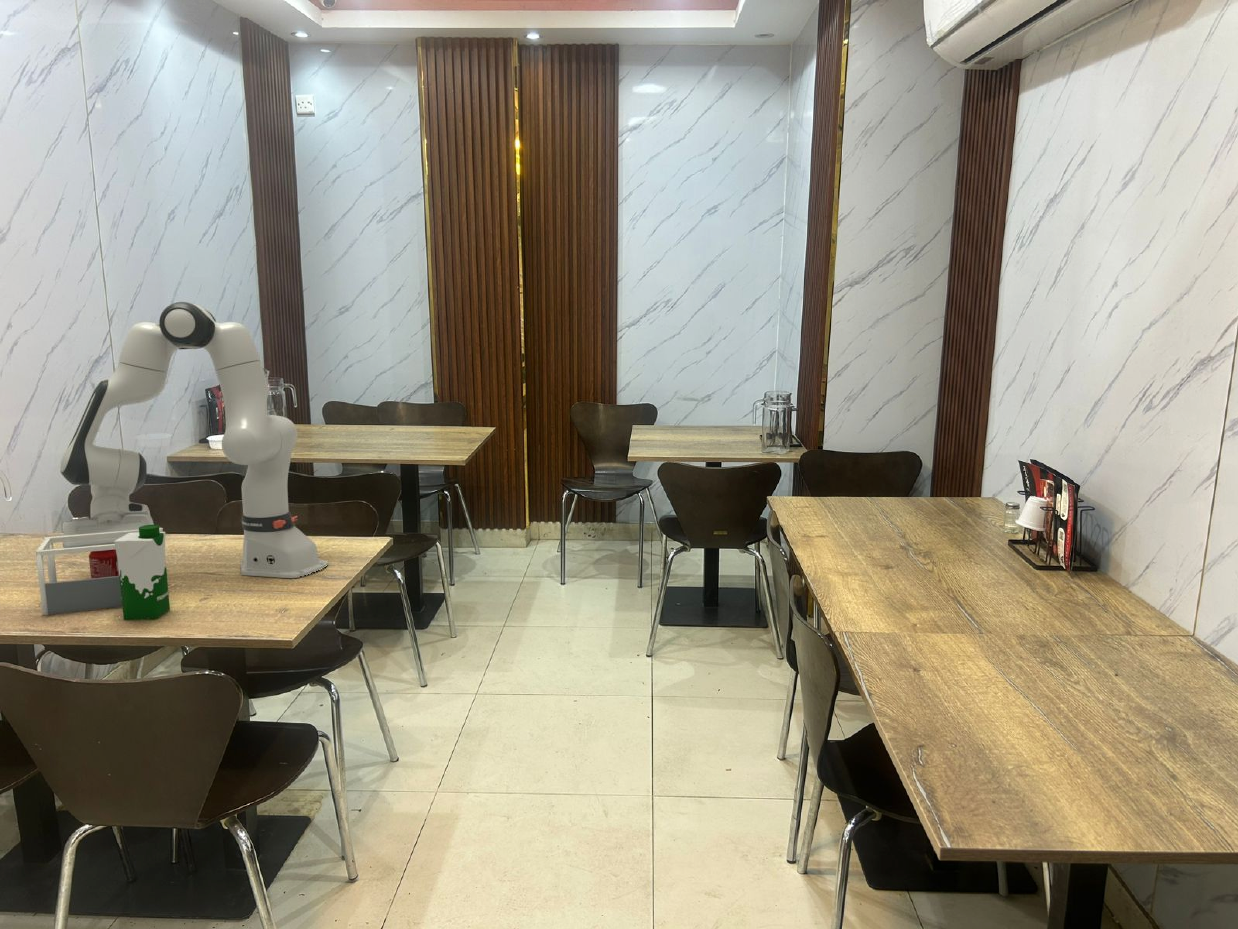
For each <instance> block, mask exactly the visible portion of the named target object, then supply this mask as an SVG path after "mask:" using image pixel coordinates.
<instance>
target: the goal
mask: <svg viewBox="0 0 1238 929" xmlns="http://www.w3.org/2000/svg"><path fill="white" fill-rule="evenodd" d="M163 529H164V528H163V527H159V530H160V532H164V530H163ZM136 532H139V530H128V531H116V532H104V533H92V534H80V535H68V536H63V535H57V536H48V537H46V536H45V537H44V538H43V542H42V543H41V544H40V545H39V547H38V548H37V549H36V551H35V559H36V567H37V576H38V583H39V592H40V604H41V610H42V615H43V616H49V615H56V614H65V613H74V612H83V611H84V612H85V611H92V610H93V611H94V610H102V609H109V608H118V607H121V608H122V600H121V590H120V580H119V576H113V577H103V578H93V579H91V578H85V579H84V578H83V579H73V580H65V581H58V579H57V578H58V577H57V569H56V560H55V558H56V557H55V555H65V554H67V555H68V553H71V554H80V553H79V552H82V553H90V551H102V550H113V549H116V548H115V544H108V545H97V546H86V547H74V548H63V547H62V548H54V544H57V543H62V542H70V541H82V540H94V539H105V538H117V537H123V536H124V535H126V534H128V533H136ZM43 556H44V557H45V559H46V568H47V577H48V582H46V574H45V573H46V572H45V566H44V557H43Z"/></svg>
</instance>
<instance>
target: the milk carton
mask: <svg viewBox="0 0 1238 929" xmlns="http://www.w3.org/2000/svg"><path fill="white" fill-rule="evenodd" d="M159 528H160V525H159V524H154V525H145V526H141V527H139V532H136V533H128V534H126V535H124V536H123V537H121V538H119V539H117V540H115V541H114V544H115V548H116V553H117V559H118V570H119V580H120V590H121V600H122V606H121V608H122V617H123V621H130V620H131V621H136V620H138V621H139V620H141V621H142V620H157V619H159V618H160V617H161V616H163V615H164V614H165V613H167V611H169V610H170V609H171V606H170V604H171V603H170V594H169V593H170V592H169V583H168V582H169V580H168V572H167V571H168V570H167V561H166V560H167V559H166V531H163V532H160V530H159Z"/></svg>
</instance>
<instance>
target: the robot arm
mask: <svg viewBox="0 0 1238 929" xmlns="http://www.w3.org/2000/svg"><path fill="white" fill-rule="evenodd" d="M198 349H204V350H206V352H207V353H208V354H209V356H210V358H211V361H212V364H213V369H214V371H215V373H216V377H217V381H218V383H219V387H220V390H221V393H222V397H223V403H224V411H225V432H224V434H223V436H222V439H221V448H222V452H223V454H224V455H225V457H226V458H227V459H228V460H229V461H230V462H231V463H233V464H236V465H242V466H247V469H246V474H245V477H244V478H243V480H242V483H241V499H242V500H241V501H242V502H241V503H242V514H241V528H242V529H243V543H242V558H241V562H240V563H241V564H240V566H239V567H240V575H242V576H251V577H253V576H254V577H264V578H265V577H267V578H279V579H280V578H282V579H284V578H285V579H296V578H301V577H300V576H302V577H304V576H303V575H306V576H309V575H312V574H313V573H312V572H315V573H317V572H316V571H318V570H319V569H321V568H324V567H325V566H326V565H328V566H329V561H328V560H325V559H321V558H319V553H318V552H319V551H318V547H317V545H316V543H315V542H314V541H313V540H312V539H310V538H309V537H308V536H307V535H305V533H303V531H301V530H300V529H299V528H297V526H296V523H295V522H296V521H298V519H297V518H298V515H295V516H292V513H291V511H290V510H289V497H288V496H289V492H288V479H289V478H288V477H289V469H290V466H291V458H292V454H293V453H292V452H293V449H294V447H295V445H296V443H297V440H298V429H297V427H296V425H295V423H294V422H293V421H292V420H291V419H289V418H288V417H286V416H281V415H275V414H272V415H271V414H270V415H269V414H268V397H269V395H270V387H269V383H268V380H267V376H266V374H265V370H264V367H263V364H262V361H261V357H260V355H259V352H258V349H257V346H256V345H255V342H254V340H253V338H252V336H251V334H250V333H249V330H248V329H247V327H246V326H245V325H244V324H242V323H239V322H235V321H227V322H225V321H224V322H217V321H216V319H215V316H214V315H213V314H212V313H211V312H210V311H209V310H207V309H206V308H204V307H202V306H200V305H198V304H195V303H193V302H192V303H191V302H187V301H178V302H174V303H171V304H169V305H167V306H166V307H165V308H164V309H163V311H162V312H161V314H160V316H159V320H158V323H154V322H149V321H142V322H138V323H134V324H133V325H132V326H131V327H130V329H129V331H128V333H127V335H126V338H125V340H124V342H123V345H122V348H121V351H120V355H119V360H118V364H117V366H116V369H115V370H114V372H113V373H112V374H111V376H110V377H109V378H107V379H104V380H101V381H100V382H99V383H98V384H97V385H96V387H95V388H94V390H93V392H92V394H91V396H90V399H89V401H88V403H87V405H86V408H85V409H84V411H83V414H82V417H81V418H80V419H79V420H80V421H79V423H78V425H77V428H76V430H75V432H74V435H73V437H72V439H71V441H70V443H69V445H67V446H68V447H67V448H66V450H65V452H64V453H63V455H62V458H61V460H60V474H61V475H62V476H63V478H64V479H65V480H66V481H67V482H68V483H70V484H71V485H73V486H74V485H75V486H90V494H91V497H92V499H91V502H90V509H89V510H90V516H82V517H71V518H69V519H67V520H65V521H64V522H63V523H62V526H61V527H62V528H61V530H62V532H63V535H62V536H68V535H80V534H92V533H104V532H116V531H128V530H139V527H141V526H145V525H155V524H154V521H153V518H152V516H151V512H150V509H149V507H148V505H146V504H144V503H137V502H133V501H130V495H131V494H134V493H135V492H138V491H139V490H140V489H141V488H142V487H143V486H144V485H145V482H146V480H147V473H148V472H147V469H148V468H147V461H146V459H145V458H144V456H143V455H142V453H140V452H137V451H133V450H127V449H123V448H122V449H120V448H110V447H105V446H100V445H99V446H98V445H94V440H95V439H96V437H97V434H98V432H99V430H100V427H101V424H102V422H103V420H104V418H105V416H106V414H108V412H110V411H111V410H113V409H115V408H118V407H121V406H122V407H123V406H128V405H129V406H130V405H135V404H141V403H145V402H148V401H151V400H153V399H154V398H156V397H157V396H159V395H160V394H161V393H162V391H163V389H164V387H165V384H166V382H167V378H168V372H169V368H170V364H171V359H172V356H173V355H174V353H175V352H176V351H177V350H198ZM119 538H121V537H117V538H105V539H94V540H82V541H70V542H61V544H62V549H63V548H74V547H86V546H95V545H99V544H107V543H114V541H115V540H117V539H119ZM90 552H91V551H90ZM90 552H89V553H90ZM80 553H83V552H79V553H78V554H80ZM68 554H72V553H68ZM68 554H67V555H68ZM324 569H325V568H324ZM318 572H319V571H318ZM311 573H312V574H311ZM308 574H309V575H308Z"/></svg>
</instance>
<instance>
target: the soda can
mask: <svg viewBox="0 0 1238 929" xmlns="http://www.w3.org/2000/svg"><path fill="white" fill-rule="evenodd" d="M108 544H114V543H107V544H99V545H108ZM95 546H97V545H95ZM88 562H89V571H90V572H89V573H90V579H93V578H103V577H113V576H119V570H118V559H117V553H116V549H113V550H102V551H91V552H89V554H88Z"/></svg>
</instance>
